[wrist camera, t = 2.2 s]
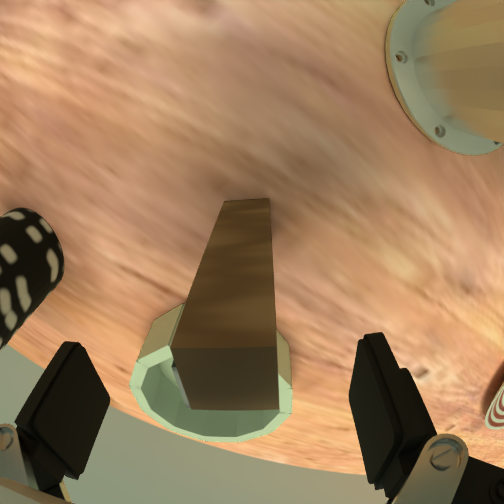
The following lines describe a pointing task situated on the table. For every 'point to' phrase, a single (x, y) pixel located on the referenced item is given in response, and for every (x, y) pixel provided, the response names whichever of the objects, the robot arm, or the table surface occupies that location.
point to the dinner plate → (496, 411)
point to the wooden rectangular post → (231, 316)
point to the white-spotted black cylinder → (25, 267)
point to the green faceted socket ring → (175, 400)
